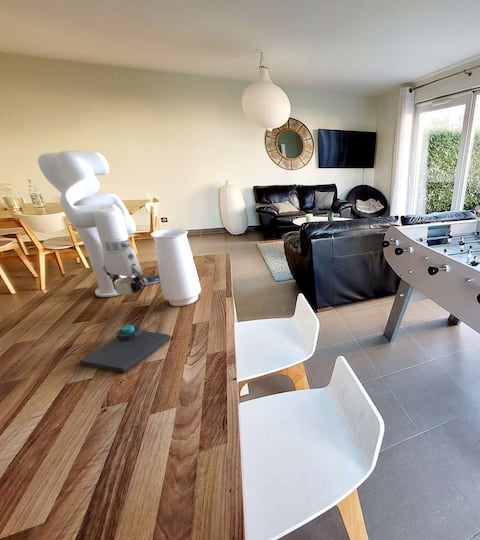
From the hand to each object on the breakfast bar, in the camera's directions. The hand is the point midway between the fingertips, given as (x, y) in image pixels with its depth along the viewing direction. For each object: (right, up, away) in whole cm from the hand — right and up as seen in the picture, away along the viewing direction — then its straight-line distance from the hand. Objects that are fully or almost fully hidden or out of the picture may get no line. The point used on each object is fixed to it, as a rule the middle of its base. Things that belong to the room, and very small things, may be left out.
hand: (128, 289), depth 107 cm
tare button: (+14, -12, -17) cm, 25 cm away
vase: (+16, -5, +8) cm, 19 cm away
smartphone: (-5, +3, +25) cm, 26 cm away
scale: (+17, -17, -21) cm, 32 cm away
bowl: (0, -1, 0) cm, 1 cm away
